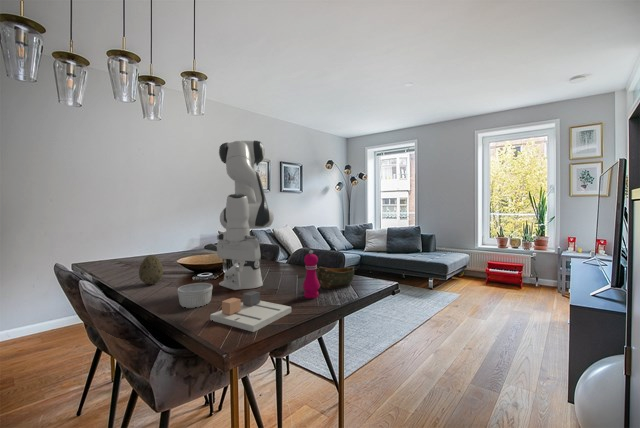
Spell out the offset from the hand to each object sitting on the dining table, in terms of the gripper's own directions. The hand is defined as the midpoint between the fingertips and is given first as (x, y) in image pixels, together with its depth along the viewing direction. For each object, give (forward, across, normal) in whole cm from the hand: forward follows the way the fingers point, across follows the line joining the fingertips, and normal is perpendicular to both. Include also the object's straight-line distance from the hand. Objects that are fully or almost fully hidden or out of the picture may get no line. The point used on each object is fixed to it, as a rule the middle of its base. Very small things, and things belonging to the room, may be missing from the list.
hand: (238, 271), depth 117 cm
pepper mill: (+14, -17, -26) cm, 34 cm away
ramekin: (+14, +19, +5) cm, 24 cm away
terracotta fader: (+12, -6, +9) cm, 16 cm away
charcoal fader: (+12, -6, -1) cm, 13 cm away
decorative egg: (+13, +66, -4) cm, 67 cm away
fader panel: (+14, -11, +4) cm, 19 cm away
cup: (+14, -18, -45) cm, 50 cm away
